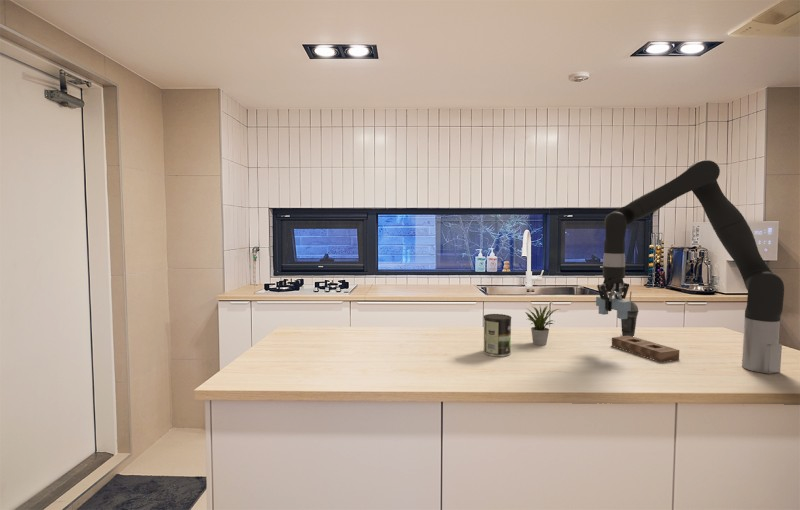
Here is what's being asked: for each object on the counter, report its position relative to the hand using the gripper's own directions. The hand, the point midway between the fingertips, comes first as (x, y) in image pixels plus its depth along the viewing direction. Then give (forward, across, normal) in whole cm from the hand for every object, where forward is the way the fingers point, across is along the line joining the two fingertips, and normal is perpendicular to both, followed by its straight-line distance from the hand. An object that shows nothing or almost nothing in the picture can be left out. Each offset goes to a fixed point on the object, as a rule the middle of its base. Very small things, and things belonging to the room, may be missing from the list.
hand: (612, 310), depth 167 cm
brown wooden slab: (+16, +12, -4) cm, 21 cm away
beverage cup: (+17, +26, +16) cm, 35 cm away
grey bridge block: (+2, 0, 0) cm, 2 cm away
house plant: (+16, -16, +20) cm, 31 cm away
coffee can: (+16, -41, +15) cm, 47 cm away
